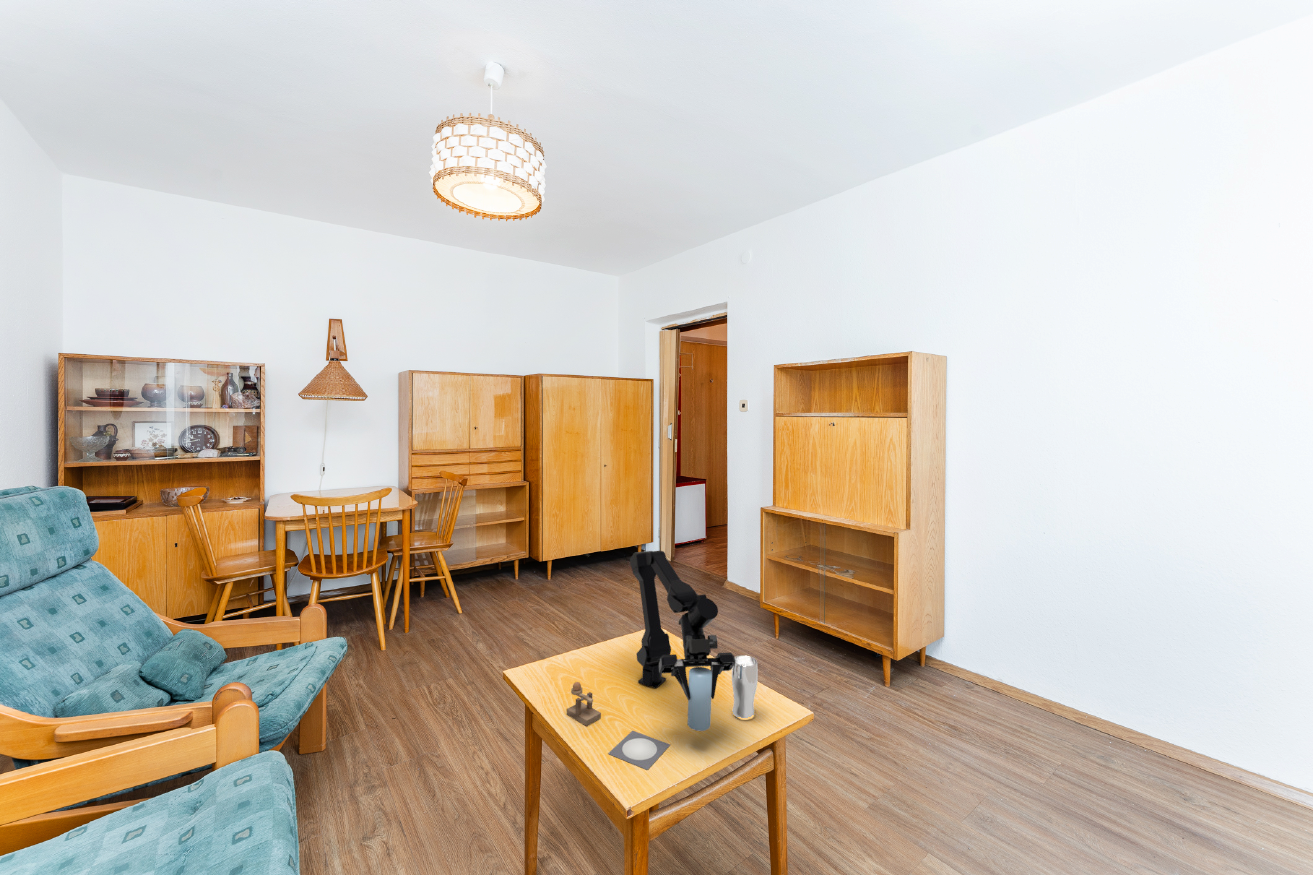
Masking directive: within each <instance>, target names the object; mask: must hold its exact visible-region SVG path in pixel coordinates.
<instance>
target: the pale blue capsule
mask: <svg viewBox="0 0 1313 875" xmlns="http://www.w3.org/2000/svg"><path fill="white" fill-rule="evenodd" d="M688 672H689V673H688V686H689V691H690V700H688V699H687V701H688V702H687V726H688V728H690V729H691V730H693V731H695V732H696V731H698V732H704V731H707V730H709V729H710V728H711V721H712V720H711V719H712V718H711V716H712V697H711V692H712V671H711V669H710V668H707V667H705V666H701V667H691V668H689V671H688Z"/></svg>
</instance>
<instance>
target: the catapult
mask: <svg viewBox="0 0 1313 875" xmlns="http://www.w3.org/2000/svg"><path fill="white" fill-rule="evenodd" d="M570 694H571V695H574V696H576V697H577V698H576V699H575V704H573V705H572V706H569V707H568V708H566V715H567V716H568V717H570V718H572V719H573V720H575V721H577V722H579V723H580V724H582V725H584V726H586V727H588V726H590V725H592V724H594V723H595V722H597V721H599V720H601V718H602V712H601V711H599V710H597V709H594V708H593V702H594V699H593V692H591V691H589V692H587V693H586V694H585V693H583V687H582V685H581V683H580V682H579V681H575V682H574V683H573V684H572V688H571V690H570ZM583 701H586V703H584V702H583Z"/></svg>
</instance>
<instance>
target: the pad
mask: <svg viewBox="0 0 1313 875" xmlns="http://www.w3.org/2000/svg"><path fill="white" fill-rule="evenodd" d="M670 746H671V743H667V742H664V741H661V740H659V739H657V738H654V737H651V736H649V735H646V734H643V733H640V732H638V731H635V730H631V731H630V732H629V733H628V734H627V735H626V736H625V737H624V738H623V739H622V740H621V741H619V743H618V744H616V746H614V747H613V748H612V749H611V750H610V751H609V752H608V753H607V755H609V756H613V757H615V758H616V759H620V760H622V761H624V762H627V763H629V764H631V765H634V766H637V767H638V768H641V769H643V770H646V771H648V770H649V769H651V767H652V766H653V765H654V763H656V761H658V759H659V758H660V757H661V756H662V755H663V754H664V752H666V750H667V749H668V748H669V747H670Z"/></svg>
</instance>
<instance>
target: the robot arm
mask: <svg viewBox="0 0 1313 875" xmlns="http://www.w3.org/2000/svg"><path fill="white" fill-rule="evenodd" d="M629 565H630V568H631V571H632V574H633V576H634V577H635V579H636V580H637V581H638V583H639V592H640V598H641V606H642V614H643V620H644V628H645V629H644V633H643V636H642V638H641V641H640V642H641V647H640V649H639V650H638V651H637V652H636V660H637V663H639V664H640V665H641V667H642V673H641V674H642V675H641V676H642V677H641V678H640V679H638V681H637V683H638V684H640V685H645V686H646V687H647V686H648V687H650V688H654V689H658V688H659V687H660V686H661V685H662V684H663V683H665V681H667V677H664V676H663V674H670V676H671V677H675V679H676V680H677V682H678V684H679V685H680V687H681V689H682V690H683V694H684V695H685V698H686V699H687V701H688V700H690V691H689V680H688V678H687V677H688V676H687V669H686V668H694V667H709V669H710V670H711V671H712V692H711V700H714V699H715V696H716V688H717V683H718V677H719V675H721V674H722V672H729V671H732V668H733V666H734V664H735V658H734V657H735V655H734V654H733V653H732V652H718V653H717V655H716V656H715V657H709V656H710V653H712V650H713V649H714V650H716V649H718V645H719V644H718V638H717V634H710V635H707V638H706V635H705V633H704V628H706V627H707V626H708V625H709V624H711V622H712V621H713V620H714V619H715V618H716V617H717V616H718V615H719V614H718V613H719V609H718V606H717V604H716V603H715V602H714V601H713V600H712V599H710V598H708V597H707V595H706V594H705V593H704V594H698V593H697V592H696V590H695V589H694V588H693V587H692V586H691V585H690V584H688V583H686V582H685V581H682V579H681V578H680V576H679V575H678V573H677V572H676V570H675V569H674V568H673V567H672V565H671V563H670V561H669V560H668V559H667V557H666V553H665V551H663V550H646V551H638V552H634V553H633V554H632V556H630V558H629ZM656 576H657V577H658V579H659V581H660V582H661V584H662V586H663V587H664V589H665V591H666V593H667V596H666V601H667V603H668V606H669V608H670V609H671V611H672V612H673V613H675V614H678V613H683V614H681V616H680V618H679V620H678V625H679V626H681V635H682V646H683V655H684V658H678V656H677V654H671V652H672V647H671V646H672V645H671V644H670V635H669V634H668V633H666V632H665V631H664V630H663V628H662V624H661V617H660V610H659V608H660V607H659V603H658V602H659V601H658V595H657V588H656V582H655V579H656ZM685 612H686V613H685Z"/></svg>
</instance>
